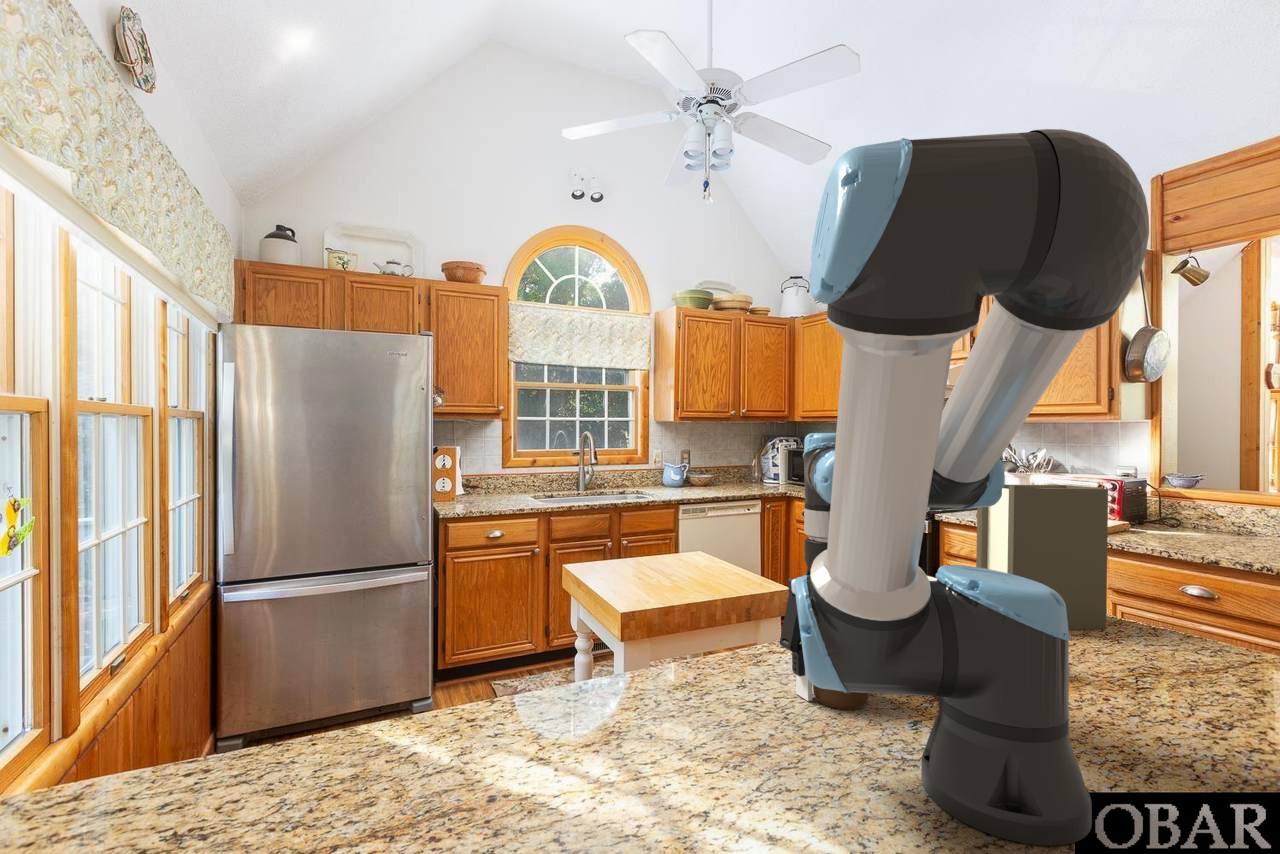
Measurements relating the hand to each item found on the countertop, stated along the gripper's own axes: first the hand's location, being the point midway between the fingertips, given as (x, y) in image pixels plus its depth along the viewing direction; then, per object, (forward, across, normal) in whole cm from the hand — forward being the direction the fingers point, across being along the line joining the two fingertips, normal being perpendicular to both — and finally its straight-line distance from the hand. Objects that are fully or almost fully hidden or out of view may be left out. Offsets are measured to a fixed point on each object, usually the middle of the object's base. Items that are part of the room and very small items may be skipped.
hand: (831, 690), depth 88 cm
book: (+1, +59, +8) cm, 60 cm away
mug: (0, 0, 0) cm, 0 cm away
